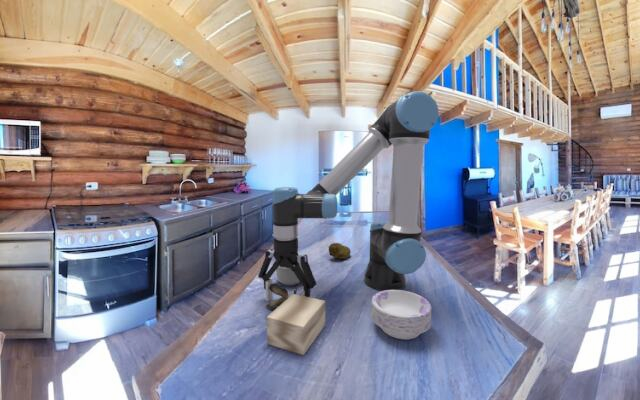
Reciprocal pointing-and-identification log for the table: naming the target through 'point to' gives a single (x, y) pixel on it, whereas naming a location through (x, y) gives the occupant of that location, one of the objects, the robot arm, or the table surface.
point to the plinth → (296, 323)
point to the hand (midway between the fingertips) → (286, 303)
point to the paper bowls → (401, 313)
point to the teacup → (287, 275)
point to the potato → (339, 251)
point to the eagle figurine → (281, 292)
